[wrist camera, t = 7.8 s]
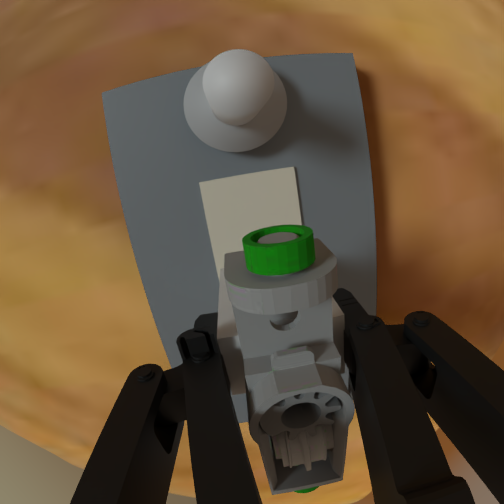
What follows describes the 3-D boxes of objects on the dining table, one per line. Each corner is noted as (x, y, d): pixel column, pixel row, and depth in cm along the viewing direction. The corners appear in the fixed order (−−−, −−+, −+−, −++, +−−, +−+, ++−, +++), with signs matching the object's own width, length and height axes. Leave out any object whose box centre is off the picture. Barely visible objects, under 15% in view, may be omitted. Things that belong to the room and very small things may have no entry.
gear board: (113, 97, 16) (46, 72, 8) (341, 61, 16) (404, 19, 9) (197, 410, 24) (192, 489, 16) (362, 379, 24) (399, 448, 16)
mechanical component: (279, 182, 16) (357, 236, 6) (299, 351, 19) (345, 488, 9) (220, 191, 15) (207, 261, 6) (252, 359, 19) (270, 503, 9)
